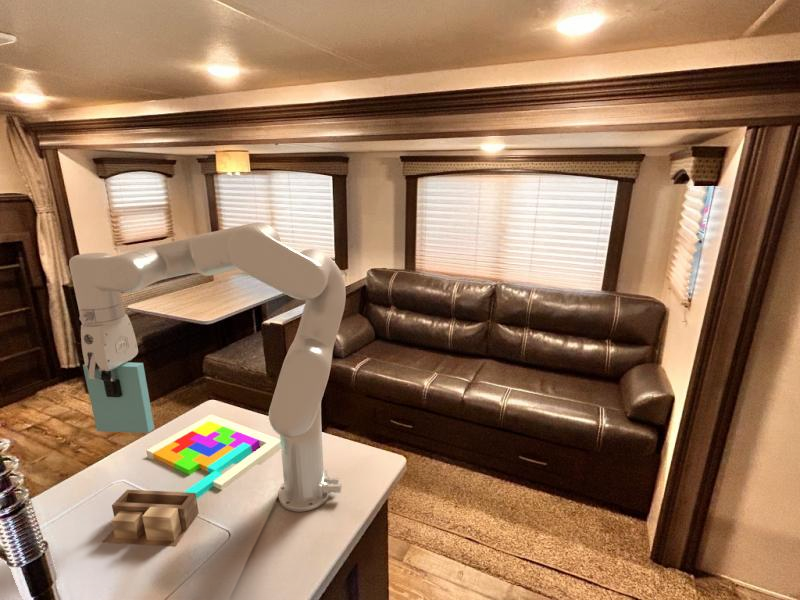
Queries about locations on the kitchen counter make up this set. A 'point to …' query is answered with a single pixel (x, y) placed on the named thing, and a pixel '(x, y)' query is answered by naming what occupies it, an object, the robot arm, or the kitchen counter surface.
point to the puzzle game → (215, 451)
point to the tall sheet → (122, 401)
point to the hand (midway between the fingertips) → (118, 393)
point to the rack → (147, 499)
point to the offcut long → (162, 523)
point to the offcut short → (128, 525)
